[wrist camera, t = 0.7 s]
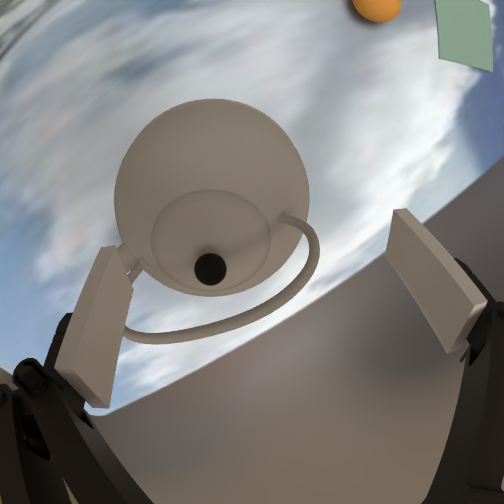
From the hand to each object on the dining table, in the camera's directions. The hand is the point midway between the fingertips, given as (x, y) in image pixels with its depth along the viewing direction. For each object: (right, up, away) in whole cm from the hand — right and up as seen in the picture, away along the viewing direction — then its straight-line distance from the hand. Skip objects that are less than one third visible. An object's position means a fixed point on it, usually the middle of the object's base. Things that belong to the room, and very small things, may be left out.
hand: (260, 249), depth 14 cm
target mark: (+30, +31, +11) cm, 45 cm away
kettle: (-6, +7, +24) cm, 26 cm away
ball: (+13, +27, +8) cm, 31 cm away
